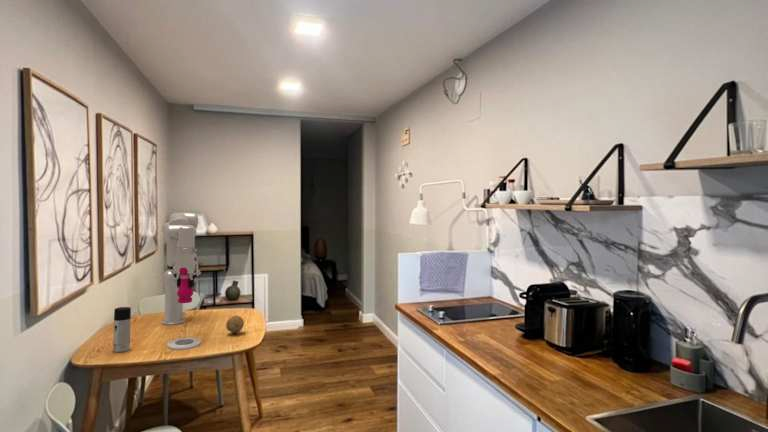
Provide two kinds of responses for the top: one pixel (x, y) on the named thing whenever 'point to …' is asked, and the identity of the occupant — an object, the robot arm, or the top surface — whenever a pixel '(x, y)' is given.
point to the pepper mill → (184, 287)
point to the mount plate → (184, 343)
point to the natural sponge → (235, 324)
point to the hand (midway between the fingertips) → (185, 286)
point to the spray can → (121, 329)
